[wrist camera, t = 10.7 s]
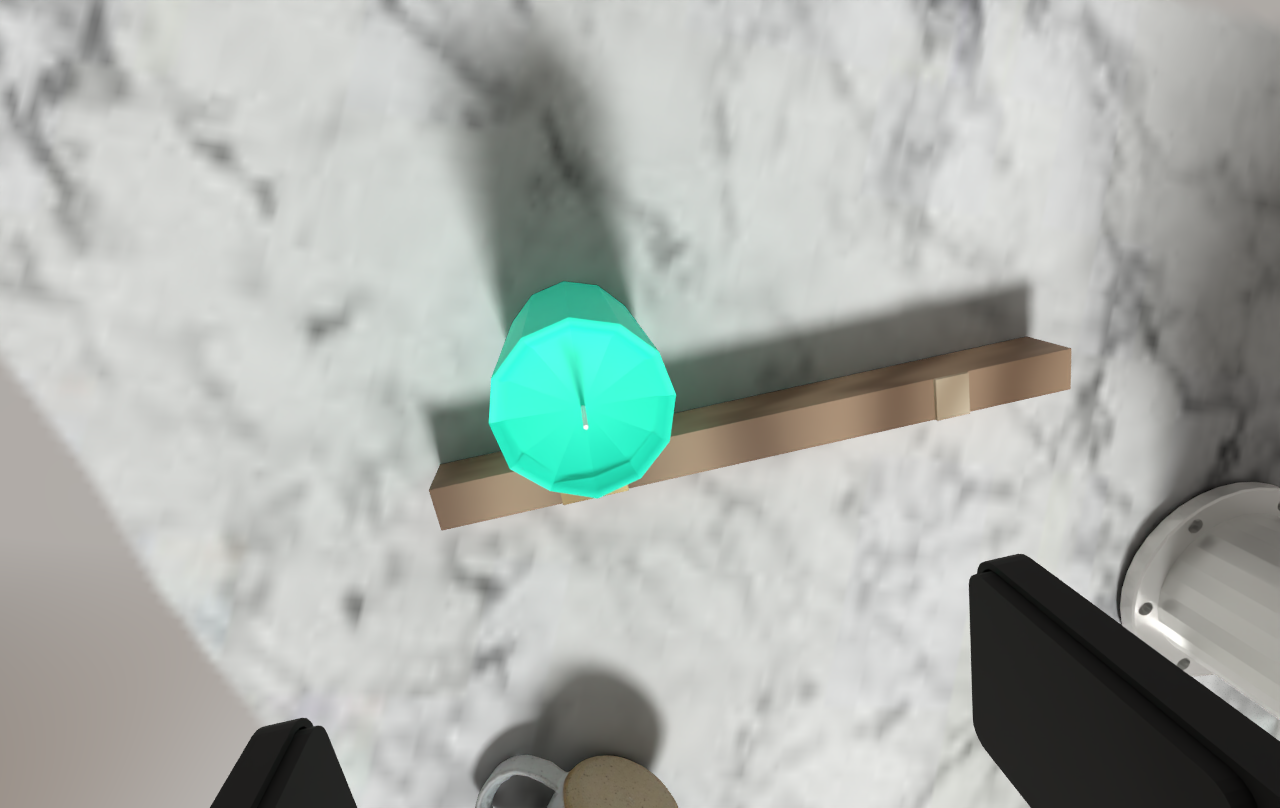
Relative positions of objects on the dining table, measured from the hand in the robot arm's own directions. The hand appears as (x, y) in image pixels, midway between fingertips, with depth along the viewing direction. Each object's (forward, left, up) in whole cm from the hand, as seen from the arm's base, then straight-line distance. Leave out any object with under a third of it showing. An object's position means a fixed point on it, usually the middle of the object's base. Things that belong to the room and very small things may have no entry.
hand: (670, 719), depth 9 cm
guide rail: (-7, +4, -23) cm, 24 cm away
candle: (+1, -1, -23) cm, 23 cm away
